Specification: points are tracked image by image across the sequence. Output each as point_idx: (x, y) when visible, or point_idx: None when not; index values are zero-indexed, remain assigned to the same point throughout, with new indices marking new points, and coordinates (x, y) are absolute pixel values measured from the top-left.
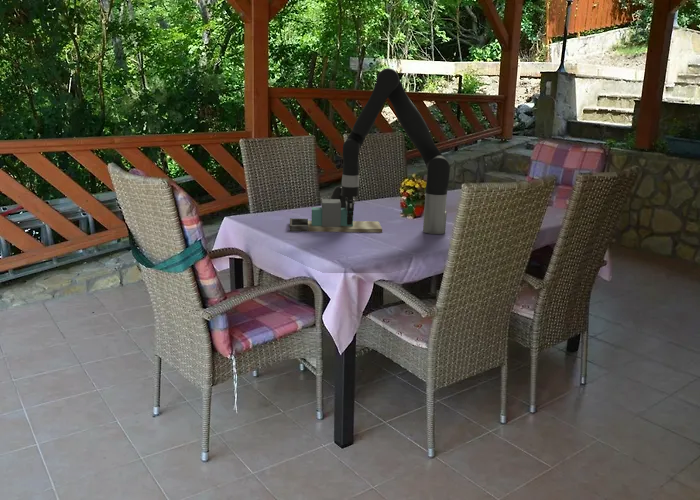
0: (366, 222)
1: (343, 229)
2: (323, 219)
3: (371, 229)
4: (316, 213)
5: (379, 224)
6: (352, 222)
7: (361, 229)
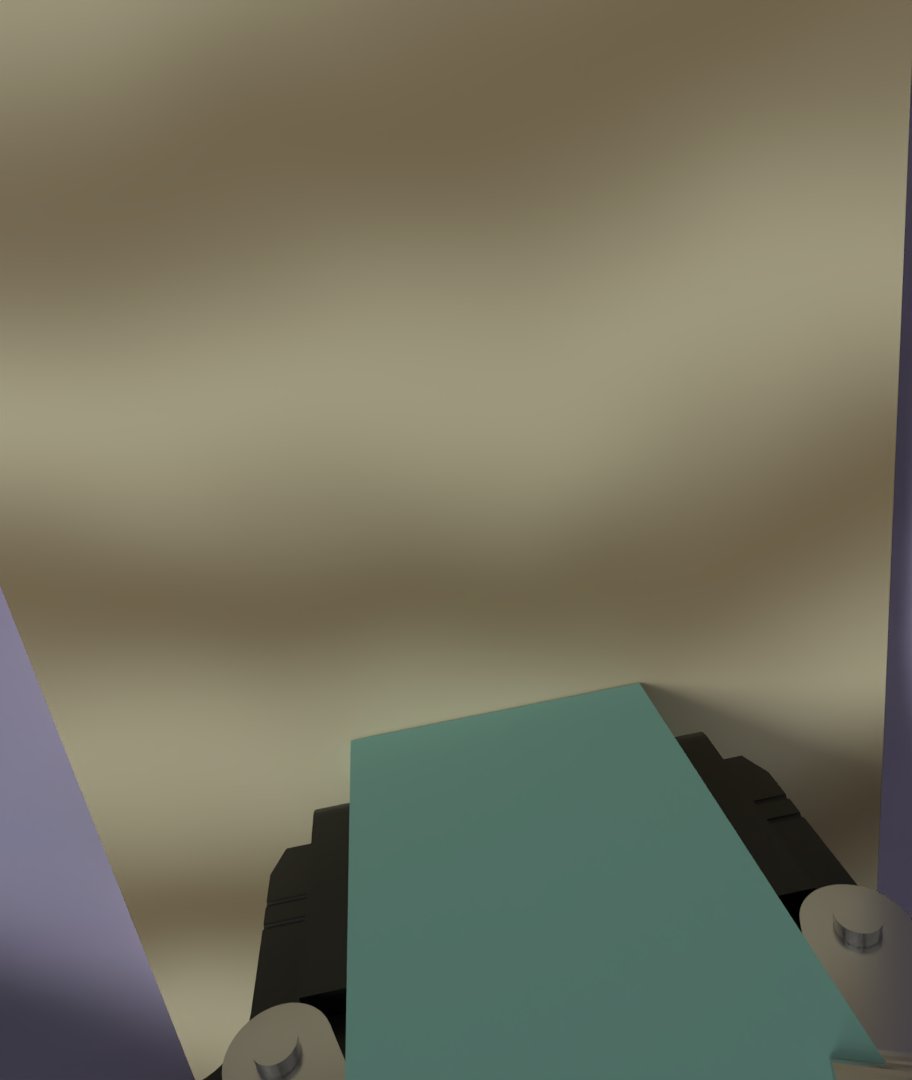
0: (78, 358)
1: (870, 818)
2: None
3: (894, 149)
4: None
5: None
6: (672, 748)
7: (884, 441)
